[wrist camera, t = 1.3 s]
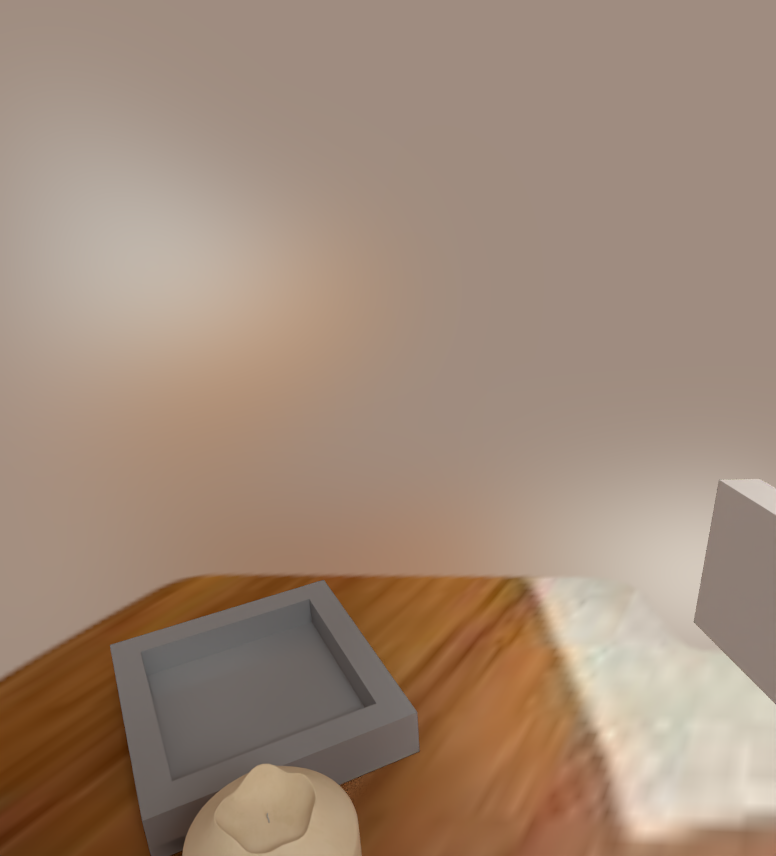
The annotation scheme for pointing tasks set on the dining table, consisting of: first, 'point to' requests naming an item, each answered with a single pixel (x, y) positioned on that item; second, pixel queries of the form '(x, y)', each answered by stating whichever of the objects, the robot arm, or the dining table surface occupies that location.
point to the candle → (276, 817)
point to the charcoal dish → (254, 704)
